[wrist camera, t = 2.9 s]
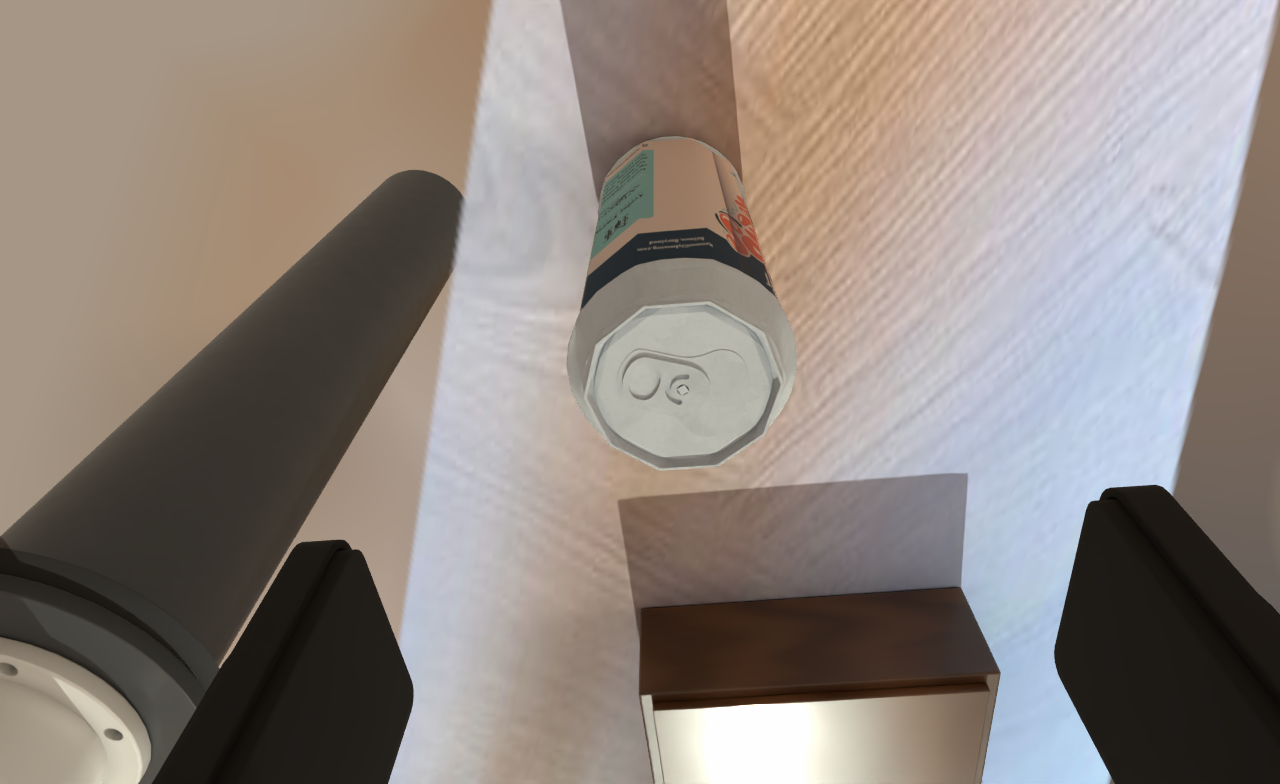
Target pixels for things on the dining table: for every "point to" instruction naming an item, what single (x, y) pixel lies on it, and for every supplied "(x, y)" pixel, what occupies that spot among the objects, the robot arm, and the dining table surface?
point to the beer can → (679, 313)
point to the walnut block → (818, 690)
